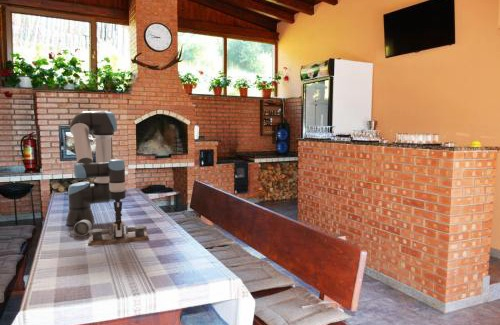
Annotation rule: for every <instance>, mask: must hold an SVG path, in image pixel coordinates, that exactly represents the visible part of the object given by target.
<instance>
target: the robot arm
mask: <svg viewBox="0 0 500 325" xmlns="http://www.w3.org/2000/svg"><path fill="white" fill-rule="evenodd" d="M117 129H118V125H117V119H116V116H115V114H114V112H112V111H105V110H104V111H101V110H100V111H99V110H96V111H95V110H94V111H93V110H91V111H90V110H89V111H88V110H85V111H81V112H79V113H77V114H76V115H75V116H74V117H73V118H72V119H71V121H70V125H69V131H70V134H71V135H72V138H73V145H74V150H75V151H74V152H75V157H76V162H77V163H74V165H73V174H74V177H75V178H76V179H89V178H90V179H91V178H95V179H94V180H93V183H90V181H80V182H79V181H78V182H74V183H72V184H69V186H68V189H67V194H68V213H67V217H66V219H65V220H66V221H65V224H66V225H67V226H73V227H74V226H75V224H76V223H78V222H79V221H81V220H88V221H90V222H91V224H93V223H95V217H94V214H93V211H92V207H91V205H92V204H93V205H95V204H104V203H105V204H106V203H108V204H109V203H112V202H113V209H114V213H115V217H114V219H115V221H114V222H113V223H114V224H116V237H120V236H122V222H123V221H122V216H123V214H122V210H123V201H121V200H124V199H126V198H127V197H126V186H127V183H126V164H125V160H124V159H121V158H120V159H119V158H115V159H114V158H113V159H112V138H113V136H114V135H115V132H117V131H118V130H117ZM89 133H92V136H93V137H94V138H95V162H94V158H93V154H92V153H93V152H92V148H91V142H90V136H89Z"/></svg>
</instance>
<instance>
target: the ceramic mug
mask: <svg viewBox="0 0 500 325" xmlns="http://www.w3.org/2000/svg"><path fill="white" fill-rule="evenodd" d="M92 225H93V223H91V222H90V221H88V220H81V221H79V222H78V223H76V224H75V226H73V230H71V231H69V232H68V233H69V236H72V235H74V234H75V235H77V236H78V237H85V236H86V235H87V234H89V230H92V228H93V227H92Z"/></svg>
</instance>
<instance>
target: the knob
mask: <svg viewBox="0 0 500 325" xmlns="http://www.w3.org/2000/svg"><path fill="white" fill-rule="evenodd" d="M112 227H113V235H114V238H122V237H124V234H125V221H122V236H120V237H116V224H114V222H113V223H112Z"/></svg>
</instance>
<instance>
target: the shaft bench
mask: <svg viewBox="0 0 500 325" xmlns="http://www.w3.org/2000/svg"><path fill="white" fill-rule="evenodd" d="M147 230H148V228H147V225H143V224H141V225H139V224H138V225H134V226H128V225H125V233H124V237H122V238H114V234H112V227H111V226H109V227H108V228H104V229H102V228H93V229H91V230H89V232H88V234H89V237H88V241H87V246H99V245H108V244H120V243H131V242H140V241H141V242H144V241H149V240H150V239H149V235H148V232H147Z"/></svg>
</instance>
